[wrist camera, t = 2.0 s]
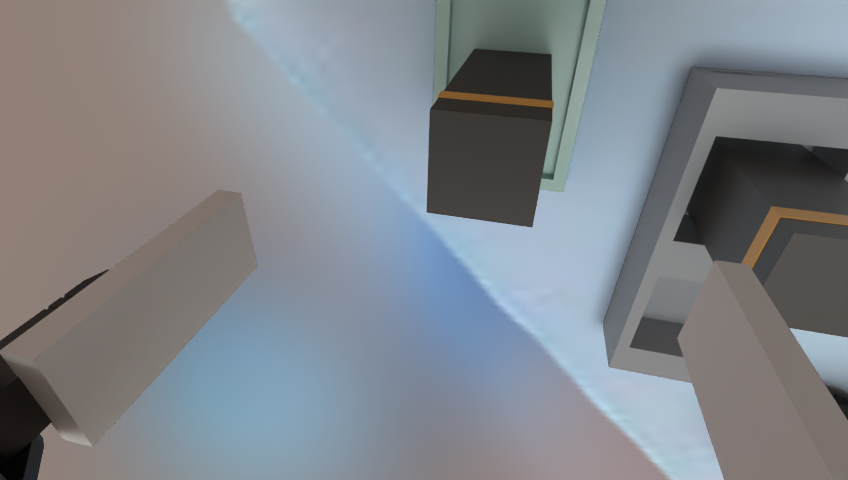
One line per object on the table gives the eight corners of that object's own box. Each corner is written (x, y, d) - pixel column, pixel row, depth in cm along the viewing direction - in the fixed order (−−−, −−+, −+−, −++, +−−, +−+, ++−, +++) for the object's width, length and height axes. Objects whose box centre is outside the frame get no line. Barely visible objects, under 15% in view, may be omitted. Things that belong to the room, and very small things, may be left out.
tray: (442, -27, 25) (437, -26, 24) (608, -20, 24) (610, -18, 22) (434, 167, 32) (430, 175, 31) (562, 183, 30) (563, 192, 29)
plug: (473, 47, 26) (428, 107, 17) (552, 53, 26) (553, 120, 16) (467, 123, 29) (425, 213, 19) (539, 130, 28) (533, 228, 18)
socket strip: (692, 67, 25) (783, 145, 15) (855, 79, 23) (1072, 174, 14) (602, 324, 36) (622, 464, 26) (709, 343, 35) (772, 498, 25)
